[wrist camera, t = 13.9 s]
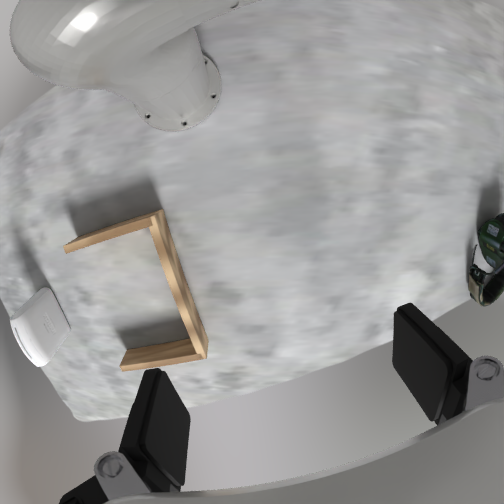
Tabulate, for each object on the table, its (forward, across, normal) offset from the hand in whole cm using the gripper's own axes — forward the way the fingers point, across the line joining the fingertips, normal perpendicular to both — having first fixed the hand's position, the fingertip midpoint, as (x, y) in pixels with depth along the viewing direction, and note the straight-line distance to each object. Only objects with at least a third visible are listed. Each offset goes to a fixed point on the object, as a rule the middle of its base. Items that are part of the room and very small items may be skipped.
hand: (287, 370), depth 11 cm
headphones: (+34, -48, +20) cm, 62 cm away
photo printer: (+34, +39, +8) cm, 52 cm away
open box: (+33, +19, +8) cm, 39 cm away
